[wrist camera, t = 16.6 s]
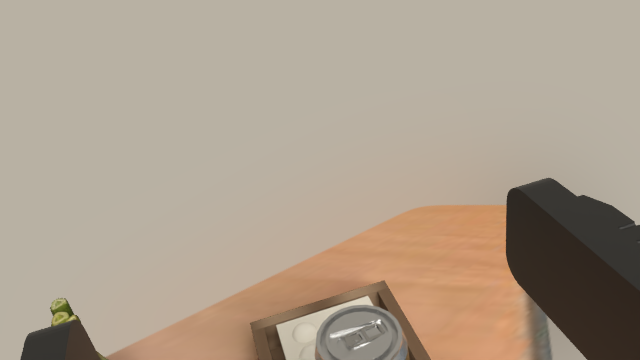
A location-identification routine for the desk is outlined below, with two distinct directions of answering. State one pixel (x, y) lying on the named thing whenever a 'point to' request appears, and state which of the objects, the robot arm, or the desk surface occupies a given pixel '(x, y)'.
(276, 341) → the crate
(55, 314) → the fennel bulb
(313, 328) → the egg carton
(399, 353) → the beer can
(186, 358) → the desk surface
